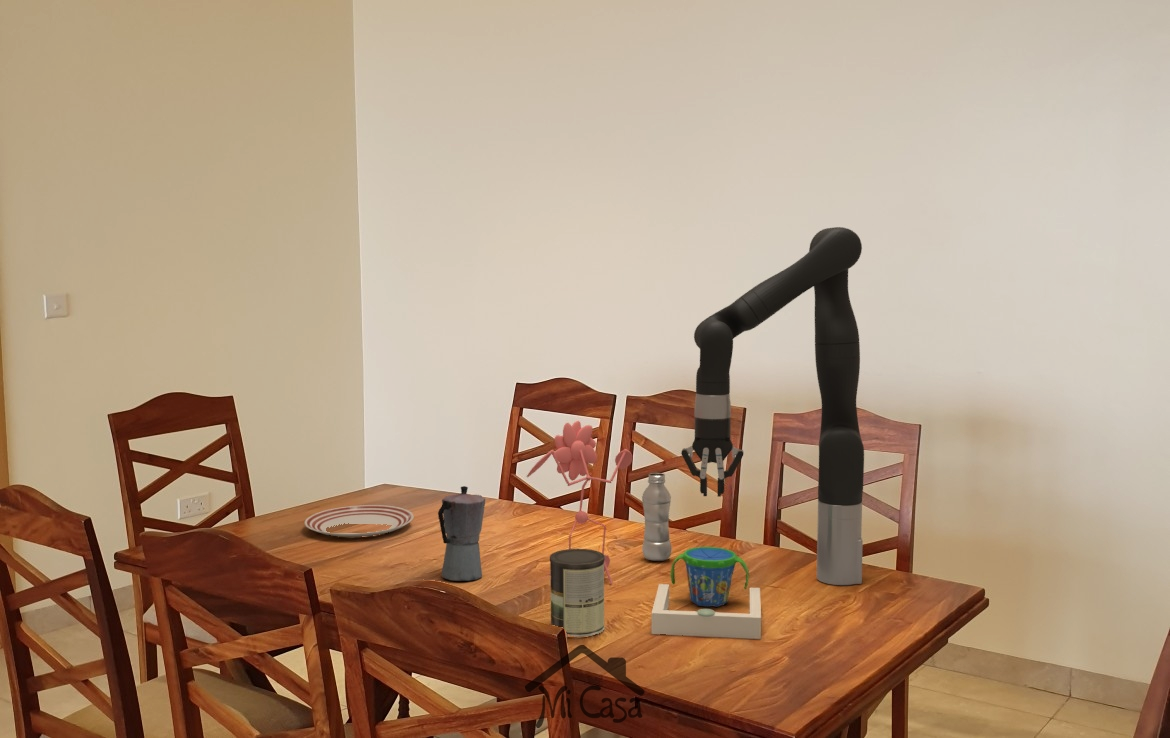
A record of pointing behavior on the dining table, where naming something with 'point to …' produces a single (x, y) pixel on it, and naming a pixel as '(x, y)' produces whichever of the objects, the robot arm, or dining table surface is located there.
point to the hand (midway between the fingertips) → (712, 495)
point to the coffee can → (577, 591)
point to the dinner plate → (359, 519)
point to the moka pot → (461, 535)
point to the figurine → (580, 466)
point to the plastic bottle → (656, 519)
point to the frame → (705, 619)
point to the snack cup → (709, 574)
